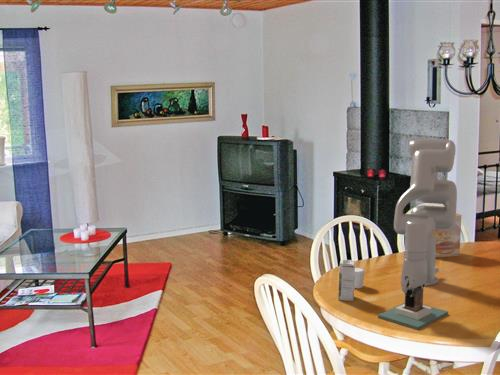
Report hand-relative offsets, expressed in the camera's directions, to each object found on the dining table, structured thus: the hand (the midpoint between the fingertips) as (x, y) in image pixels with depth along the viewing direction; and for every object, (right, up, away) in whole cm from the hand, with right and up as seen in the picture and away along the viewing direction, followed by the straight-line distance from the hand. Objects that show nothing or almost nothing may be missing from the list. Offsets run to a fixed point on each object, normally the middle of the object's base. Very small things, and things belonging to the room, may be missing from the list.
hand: (413, 304), depth 237 cm
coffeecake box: (+31, +10, +76) cm, 83 cm away
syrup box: (-21, -1, +19) cm, 28 cm away
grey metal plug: (0, -2, 0) cm, 2 cm away
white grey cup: (-15, +1, +33) cm, 36 cm away
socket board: (0, -4, +1) cm, 4 cm away
